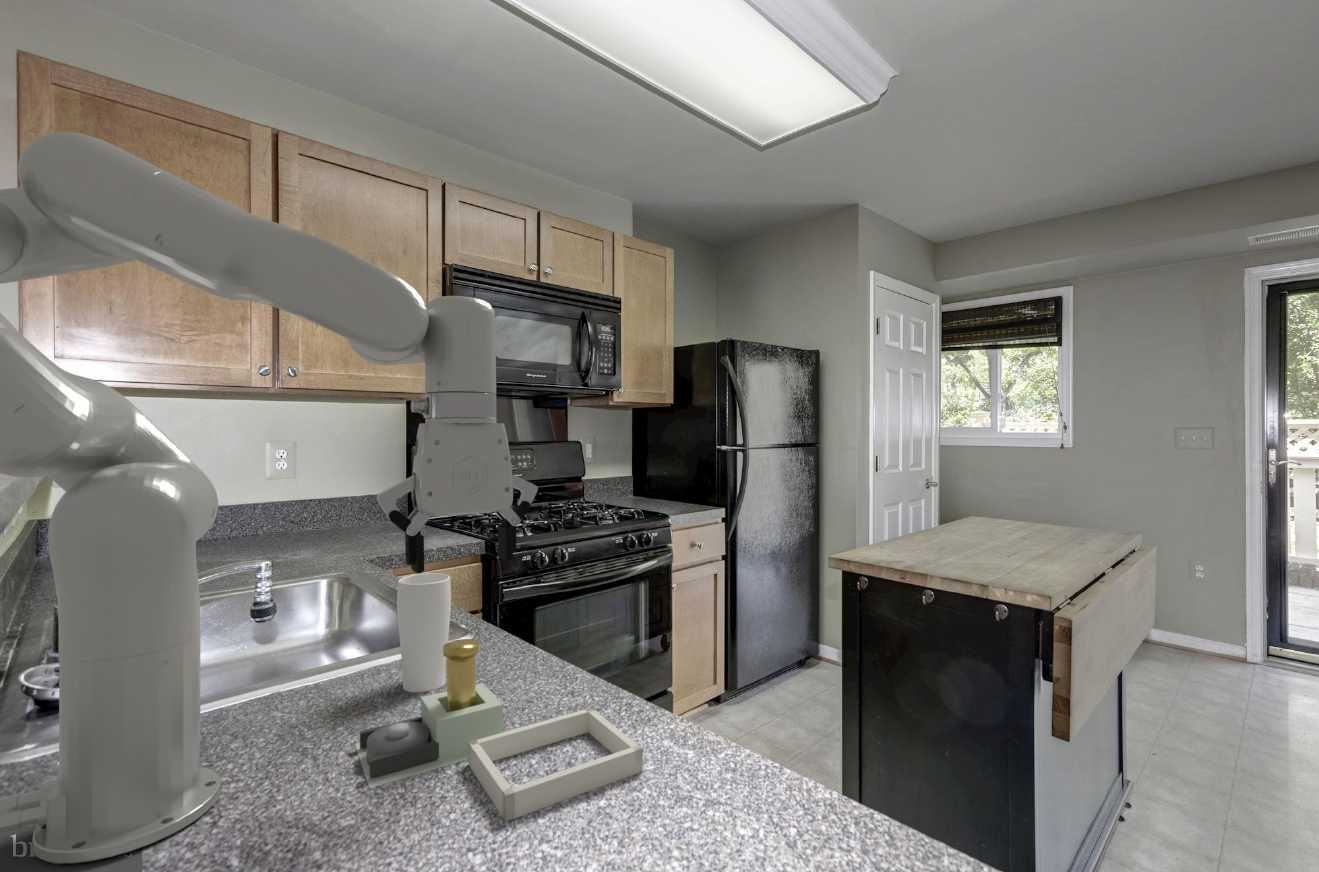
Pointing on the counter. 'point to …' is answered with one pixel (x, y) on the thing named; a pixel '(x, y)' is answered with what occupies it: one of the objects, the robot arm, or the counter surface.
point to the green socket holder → (428, 738)
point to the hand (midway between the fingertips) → (463, 565)
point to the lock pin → (461, 673)
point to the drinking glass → (423, 629)
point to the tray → (561, 783)
